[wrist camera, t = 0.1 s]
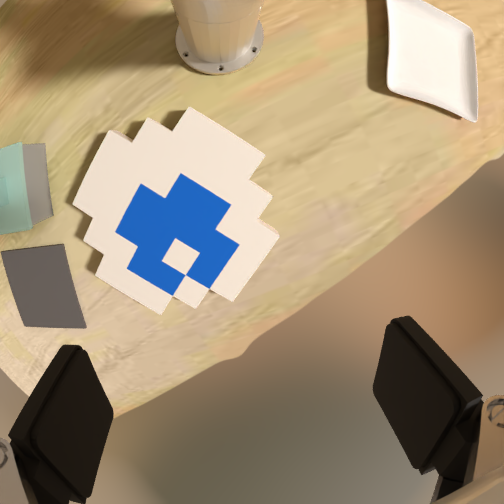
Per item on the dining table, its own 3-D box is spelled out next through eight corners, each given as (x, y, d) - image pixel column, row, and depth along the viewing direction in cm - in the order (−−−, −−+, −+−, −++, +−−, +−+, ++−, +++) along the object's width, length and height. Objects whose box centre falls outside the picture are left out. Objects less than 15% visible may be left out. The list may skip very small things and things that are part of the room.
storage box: (-10, 161, 36) (-34, 165, 30) (45, 143, 37) (20, 144, 31) (-1, 225, 40) (-24, 236, 34) (53, 215, 41) (31, 226, 35)
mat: (2, 251, 42) (0, 252, 41) (63, 243, 43) (62, 244, 42) (25, 325, 47) (24, 326, 47) (86, 326, 48) (85, 328, 48)
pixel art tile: (313, 189, 40) (205, 338, 46) (306, 185, 44) (206, 325, 50) (140, 79, 33) (55, 248, 39) (148, 85, 37) (66, 240, 43)
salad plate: (467, 124, 42) (479, 124, 39) (377, 93, 40) (387, 89, 36) (463, 31, 35) (474, 28, 32) (375, -10, 33) (384, -17, 30)
